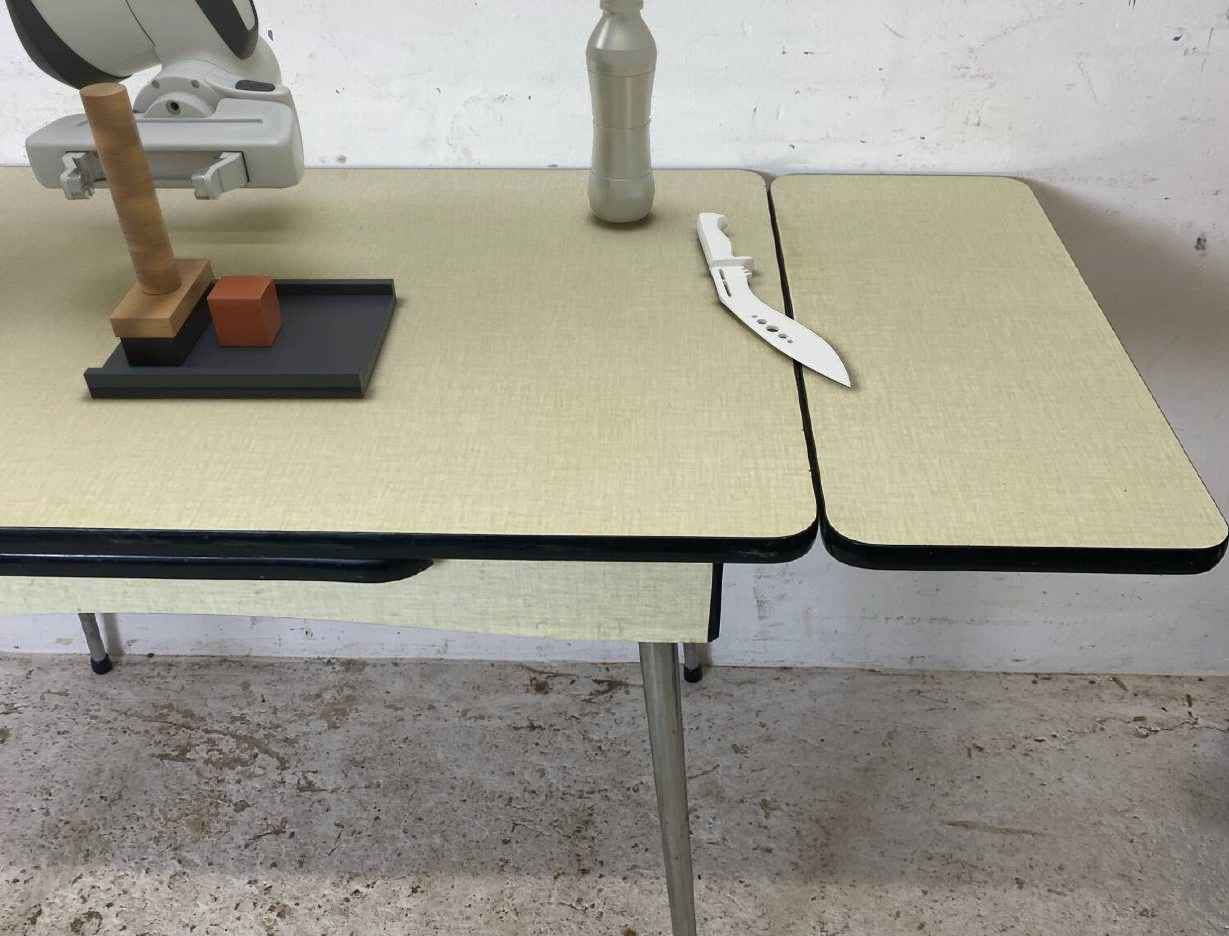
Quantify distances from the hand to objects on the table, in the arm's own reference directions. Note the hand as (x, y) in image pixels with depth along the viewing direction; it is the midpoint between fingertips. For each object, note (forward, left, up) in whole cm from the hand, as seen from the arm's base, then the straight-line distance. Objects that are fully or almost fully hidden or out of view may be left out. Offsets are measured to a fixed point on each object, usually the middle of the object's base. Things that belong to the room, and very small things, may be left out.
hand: (137, 189), depth 78 cm
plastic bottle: (+35, +25, -12) cm, 45 cm away
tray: (+6, -1, -12) cm, 13 cm away
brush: (0, -1, -11) cm, 11 cm away
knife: (+47, +7, -12) cm, 49 cm away
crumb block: (+6, -1, -11) cm, 13 cm away
